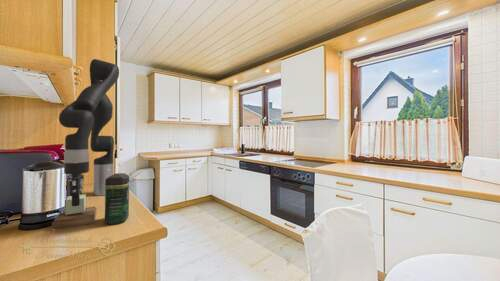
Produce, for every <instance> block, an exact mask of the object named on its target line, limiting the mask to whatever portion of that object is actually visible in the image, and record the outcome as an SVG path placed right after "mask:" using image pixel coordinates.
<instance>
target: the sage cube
mask: <svg viewBox="0 0 500 281" xmlns="http://www.w3.org/2000/svg"><path fill="white" fill-rule="evenodd" d="M86 196H87V194H86V193H85V194H83V193H82V195H80V204H79V206H72V197H71V196H68V197H67V199H66V200H65V215H67V214H75V213H82V212H84V211H85V208H87V207H86V206H87V204H86V201H87V199H86Z"/></svg>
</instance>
